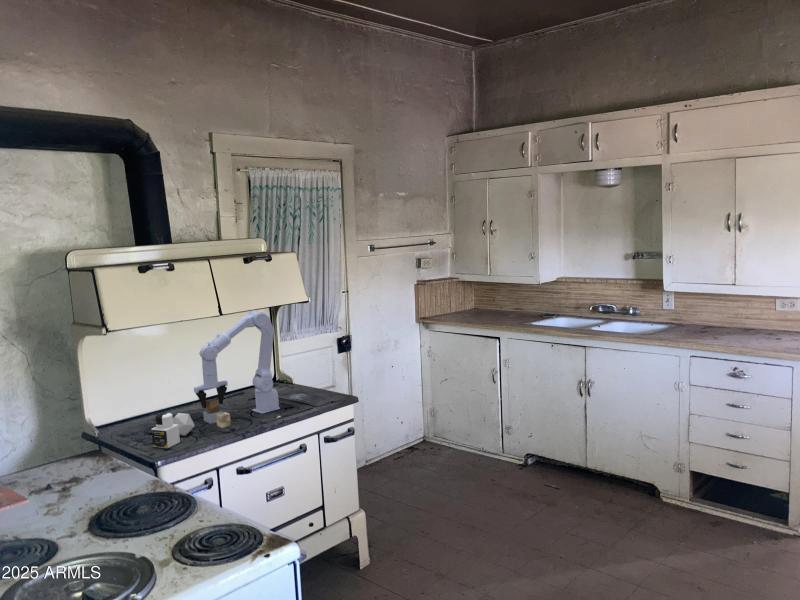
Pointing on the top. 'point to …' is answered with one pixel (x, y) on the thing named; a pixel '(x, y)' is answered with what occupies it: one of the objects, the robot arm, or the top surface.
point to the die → (183, 423)
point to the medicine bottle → (165, 431)
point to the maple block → (223, 420)
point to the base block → (210, 417)
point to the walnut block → (212, 406)
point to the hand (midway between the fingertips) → (212, 405)
